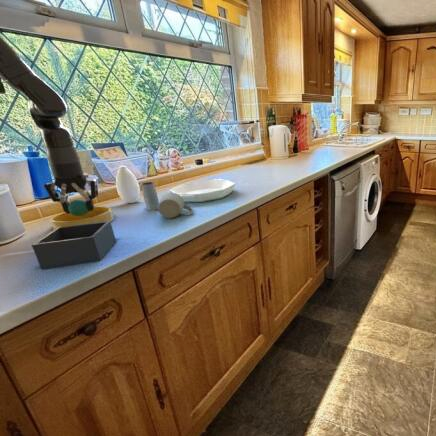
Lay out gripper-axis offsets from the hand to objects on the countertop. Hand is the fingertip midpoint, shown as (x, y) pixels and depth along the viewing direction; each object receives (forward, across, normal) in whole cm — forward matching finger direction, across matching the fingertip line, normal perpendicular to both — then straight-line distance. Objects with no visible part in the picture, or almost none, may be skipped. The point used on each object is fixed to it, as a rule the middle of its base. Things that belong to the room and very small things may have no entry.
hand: (80, 211), depth 101 cm
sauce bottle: (+5, +9, +25) cm, 27 cm away
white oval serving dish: (+4, +38, +22) cm, 44 cm away
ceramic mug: (+4, +29, -3) cm, 30 cm away
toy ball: (+1, 0, 0) cm, 1 cm away
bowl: (+5, 0, 0) cm, 5 cm away
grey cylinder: (+5, +20, +10) cm, 22 cm away
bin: (+5, +9, -28) cm, 30 cm away
